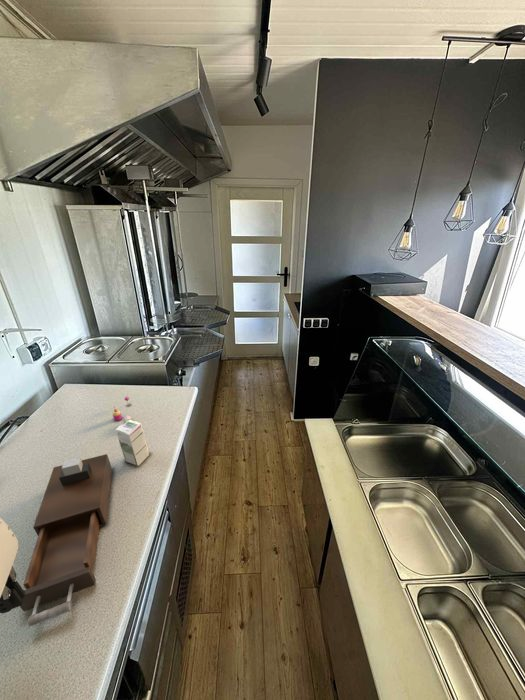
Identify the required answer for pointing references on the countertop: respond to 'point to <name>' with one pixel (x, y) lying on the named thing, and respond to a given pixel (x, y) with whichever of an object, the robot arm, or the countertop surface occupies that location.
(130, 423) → the syrup box
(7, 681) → the countertop surface
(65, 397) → the countertop surface
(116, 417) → the candy
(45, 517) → the cabinet
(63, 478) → the two-tone rectangular prism
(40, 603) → the drawer
